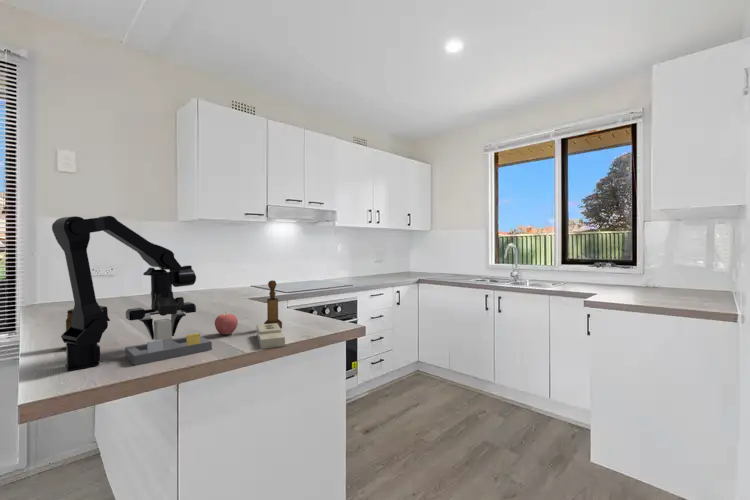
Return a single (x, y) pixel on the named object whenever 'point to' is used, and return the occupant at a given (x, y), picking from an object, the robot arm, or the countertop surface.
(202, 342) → the socket plate
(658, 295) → the countertop surface
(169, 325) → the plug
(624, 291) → the countertop surface
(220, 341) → the countertop surface
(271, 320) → the wooden pepper mill
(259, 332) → the electrical outlet
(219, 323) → the apple
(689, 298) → the countertop surface
